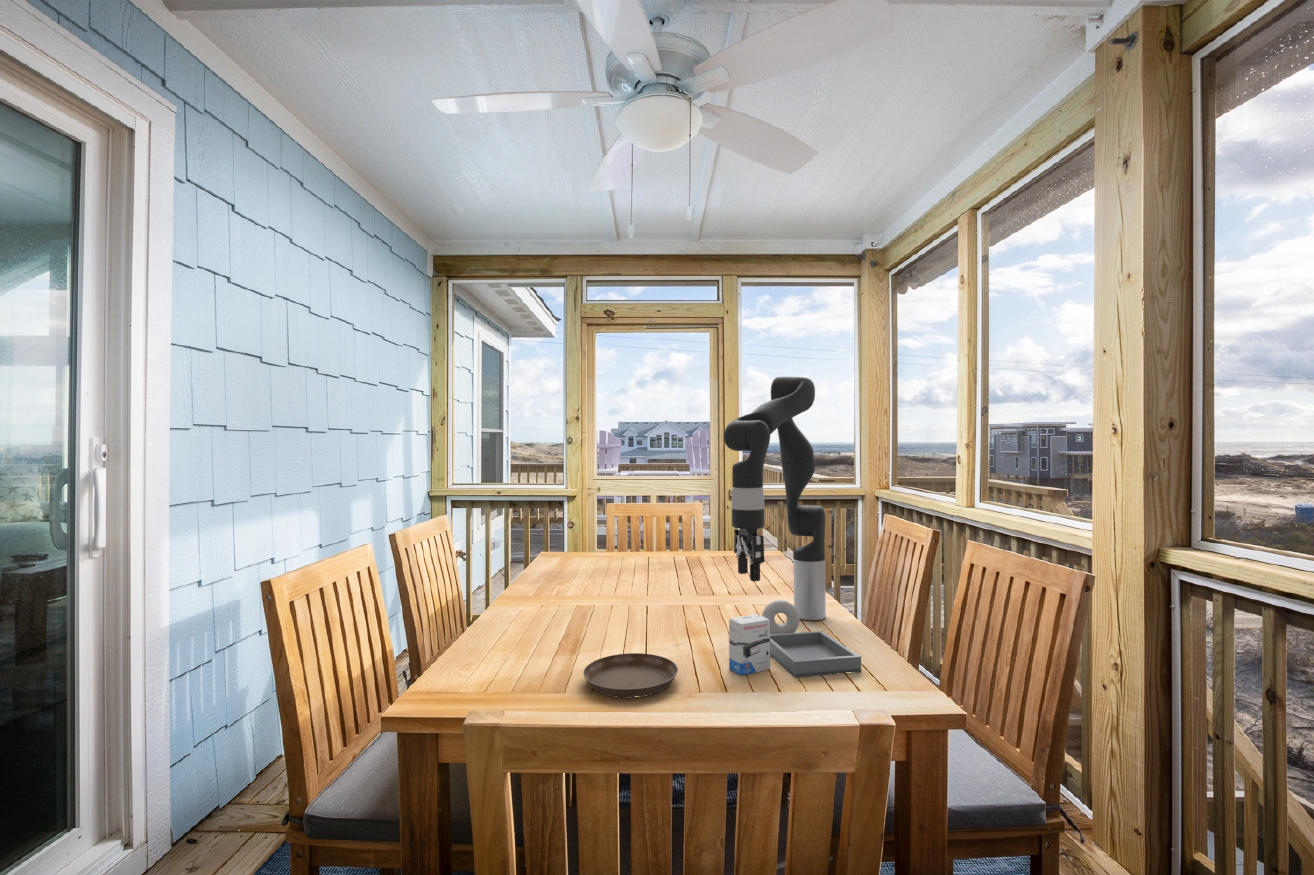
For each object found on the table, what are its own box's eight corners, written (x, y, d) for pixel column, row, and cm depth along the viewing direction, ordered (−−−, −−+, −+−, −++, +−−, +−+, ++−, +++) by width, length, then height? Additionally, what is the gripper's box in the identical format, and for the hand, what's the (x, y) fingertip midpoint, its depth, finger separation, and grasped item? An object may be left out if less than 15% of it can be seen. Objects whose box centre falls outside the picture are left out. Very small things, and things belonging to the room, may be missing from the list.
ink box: (740, 676, 140) (740, 623, 140) (728, 669, 145) (727, 618, 145) (771, 669, 144) (770, 618, 144) (758, 663, 149) (757, 613, 149)
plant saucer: (644, 711, 123) (644, 694, 123) (563, 690, 134) (563, 675, 134) (694, 677, 141) (694, 662, 141) (619, 661, 151) (619, 647, 152)
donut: (762, 638, 167) (761, 601, 167) (761, 634, 171) (761, 597, 171) (800, 640, 166) (799, 602, 166) (799, 636, 169) (799, 599, 169)
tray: (763, 648, 159) (762, 635, 159) (822, 644, 162) (821, 630, 162) (794, 677, 139) (794, 661, 139) (861, 672, 142) (861, 656, 142)
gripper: (774, 509, 139) (775, 582, 138) (753, 503, 153) (753, 570, 152) (742, 510, 137) (743, 584, 137) (723, 504, 151) (724, 571, 151)
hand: (748, 577), depth 145 cm, fingers open, 8 cm apart
